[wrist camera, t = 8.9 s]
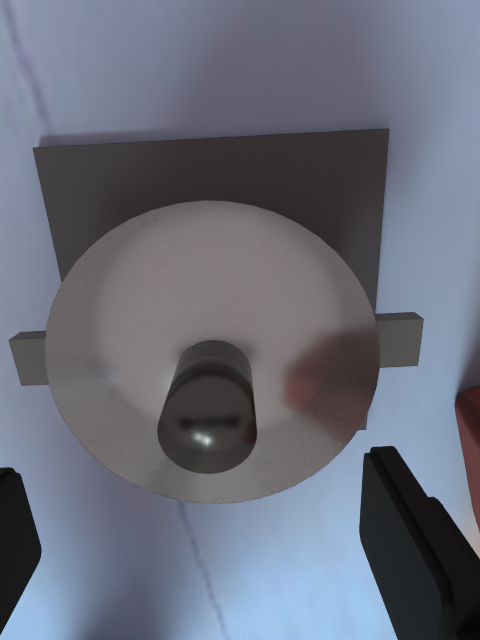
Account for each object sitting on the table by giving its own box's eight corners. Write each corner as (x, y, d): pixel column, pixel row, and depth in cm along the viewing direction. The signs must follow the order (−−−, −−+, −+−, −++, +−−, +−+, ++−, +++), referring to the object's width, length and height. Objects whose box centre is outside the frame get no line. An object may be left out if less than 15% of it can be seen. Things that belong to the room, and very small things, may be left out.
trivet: (363, 424, 28) (366, 429, 27) (99, 437, 28) (96, 442, 27) (384, 130, 21) (389, 128, 21) (37, 148, 21) (32, 147, 21)
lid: (360, 482, 19) (401, 579, 14) (86, 493, 19) (37, 594, 14) (385, 192, 14) (460, 194, 10) (22, 207, 14) (-83, 216, 10)
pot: (363, 388, 26) (415, 469, 19) (93, 401, 26) (36, 487, 19) (377, 194, 22) (452, 198, 14) (53, 212, 22) (-42, 224, 14)
